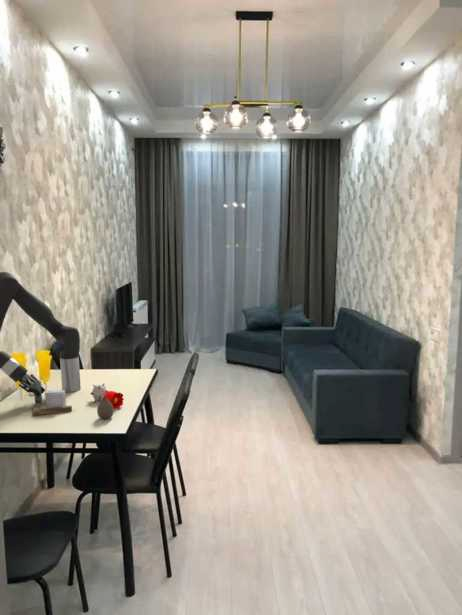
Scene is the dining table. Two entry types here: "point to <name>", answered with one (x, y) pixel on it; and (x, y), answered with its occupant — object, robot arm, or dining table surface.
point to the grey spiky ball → (99, 392)
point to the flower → (114, 398)
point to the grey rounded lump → (105, 409)
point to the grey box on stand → (47, 410)
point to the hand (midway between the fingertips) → (41, 393)
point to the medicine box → (55, 398)
